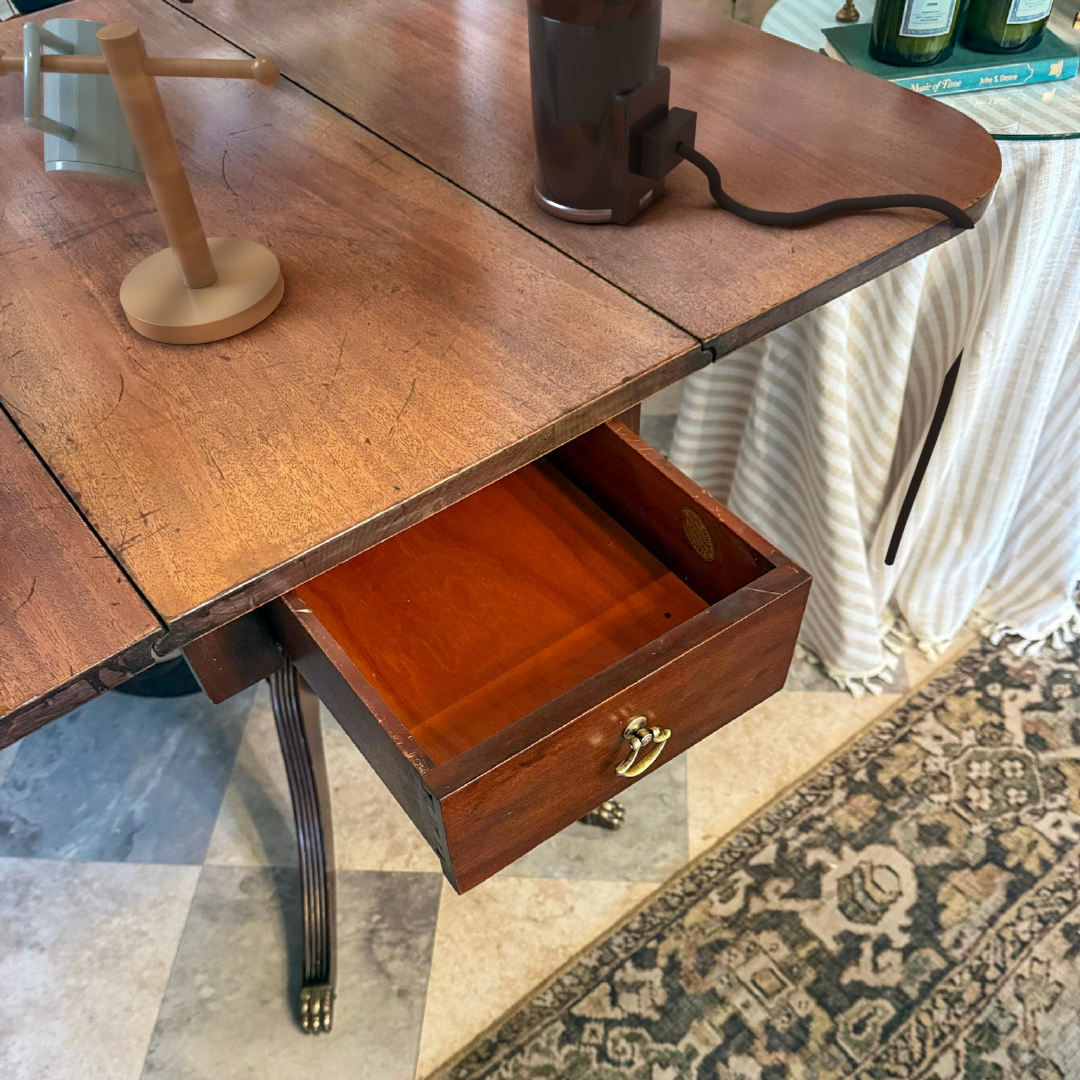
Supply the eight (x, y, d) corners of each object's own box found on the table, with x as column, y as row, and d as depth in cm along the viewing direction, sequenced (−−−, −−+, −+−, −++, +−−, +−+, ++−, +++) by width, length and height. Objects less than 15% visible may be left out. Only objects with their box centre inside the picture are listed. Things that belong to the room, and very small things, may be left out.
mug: (81, 186, 69) (80, 47, 68) (162, 190, 69) (163, 50, 67) (-18, 155, 60) (-21, -7, 58) (75, 159, 59) (74, -5, 57)
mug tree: (354, 261, 73) (302, -3, 60) (307, 353, 66) (235, 75, 53) (118, 248, 76) (17, -8, 62) (47, 335, 68) (-84, 66, 55)
